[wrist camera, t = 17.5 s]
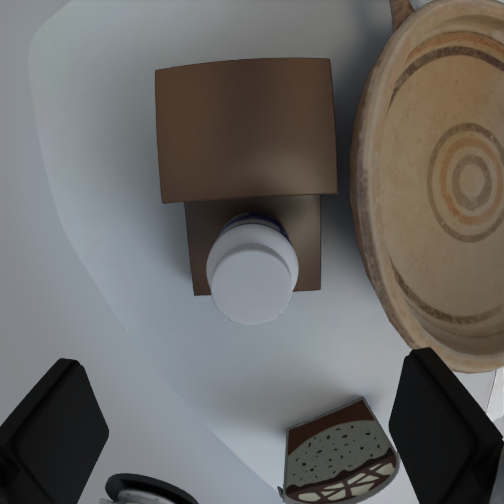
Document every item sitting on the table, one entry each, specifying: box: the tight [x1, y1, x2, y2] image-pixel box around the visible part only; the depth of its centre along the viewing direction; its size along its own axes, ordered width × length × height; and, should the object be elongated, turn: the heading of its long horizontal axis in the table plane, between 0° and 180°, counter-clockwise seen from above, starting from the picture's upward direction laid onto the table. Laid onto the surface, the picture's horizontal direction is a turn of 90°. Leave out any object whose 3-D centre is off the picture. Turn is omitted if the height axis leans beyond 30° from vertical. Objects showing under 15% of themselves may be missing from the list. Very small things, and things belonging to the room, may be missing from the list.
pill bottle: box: [206, 211, 298, 325], centre depth 20 cm, size 5×5×9 cm
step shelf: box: [155, 58, 338, 296], centre depth 21 cm, size 10×16×8 cm, turn 3°
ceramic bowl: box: [349, 0, 504, 374], centre depth 20 cm, size 37×29×10 cm
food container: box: [277, 397, 401, 504], centre depth 27 cm, size 12×6×10 cm, turn 119°
